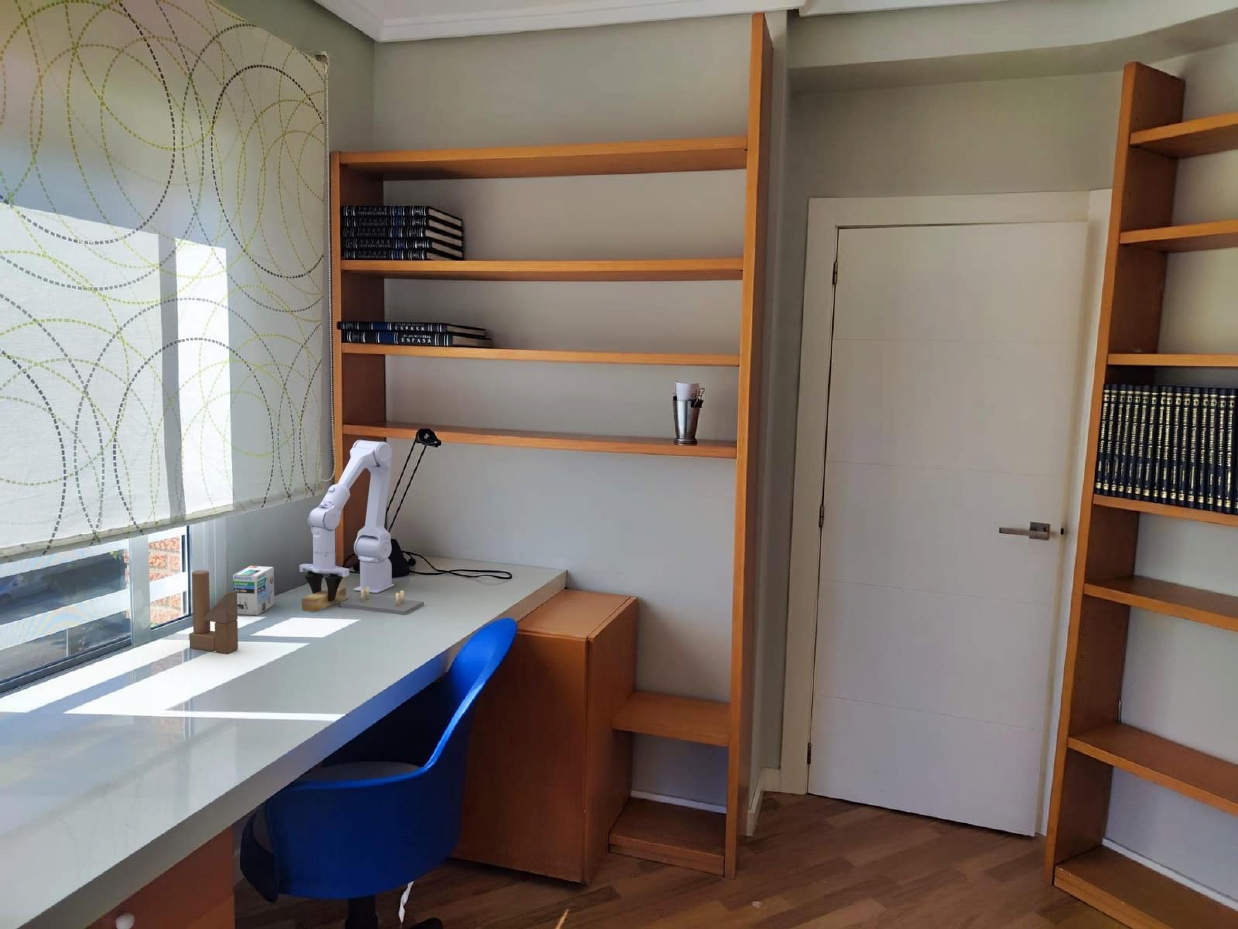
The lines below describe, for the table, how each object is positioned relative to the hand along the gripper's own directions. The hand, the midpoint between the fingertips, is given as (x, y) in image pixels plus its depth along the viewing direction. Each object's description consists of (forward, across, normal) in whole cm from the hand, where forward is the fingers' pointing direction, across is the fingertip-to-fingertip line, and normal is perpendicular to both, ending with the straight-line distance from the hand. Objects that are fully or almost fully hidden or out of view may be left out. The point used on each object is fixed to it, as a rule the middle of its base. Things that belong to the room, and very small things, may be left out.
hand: (324, 599), depth 234 cm
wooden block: (+2, -1, -40) cm, 40 cm away
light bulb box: (+2, -14, -11) cm, 18 cm away
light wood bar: (+2, 0, 0) cm, 2 cm away
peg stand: (+1, +15, +5) cm, 16 cm away
